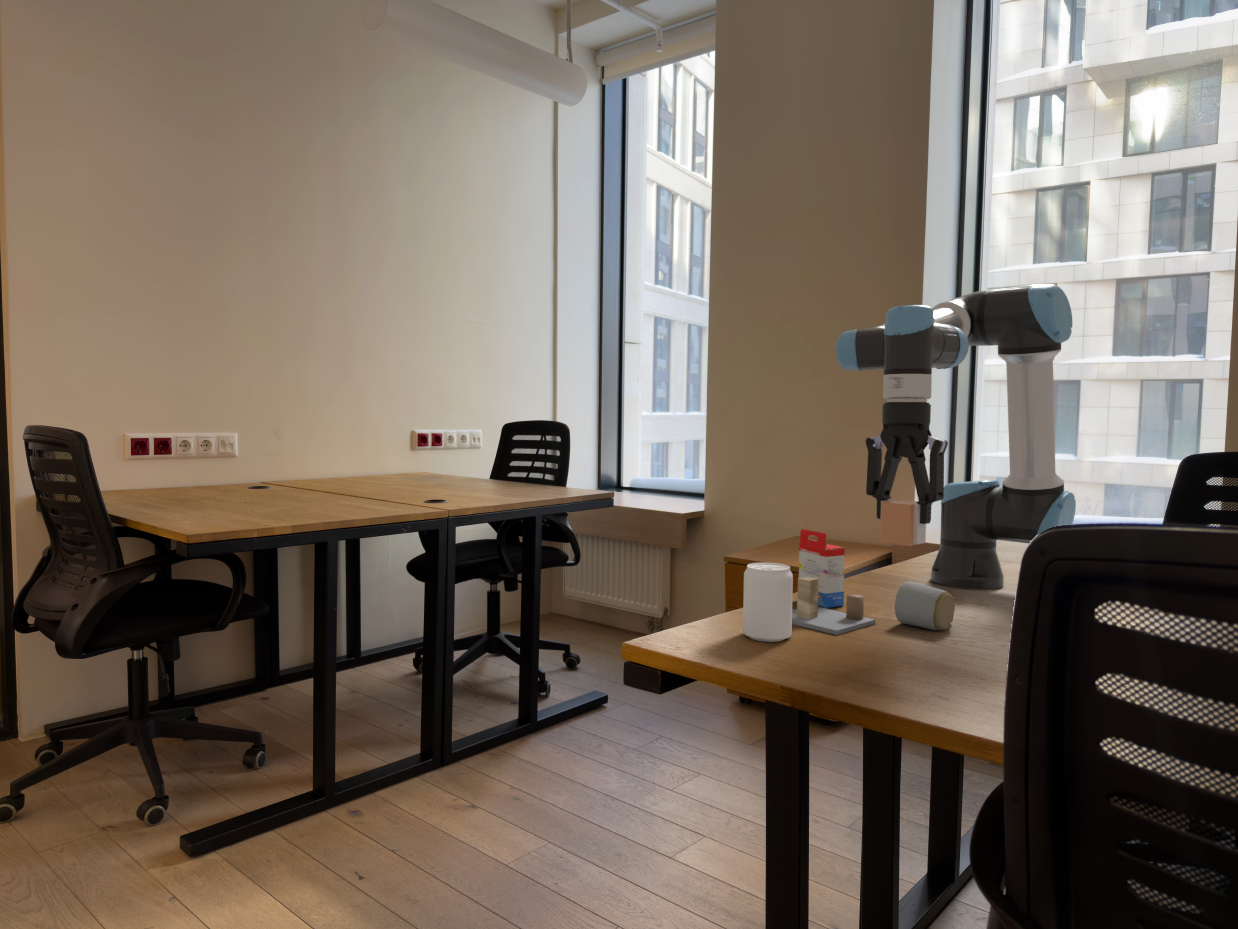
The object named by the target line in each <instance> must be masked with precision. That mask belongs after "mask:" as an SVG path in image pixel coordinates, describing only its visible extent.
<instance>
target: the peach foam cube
mask: <svg viewBox="0 0 1238 929" xmlns="http://www.w3.org/2000/svg"><path fill="white" fill-rule="evenodd" d="M891 500H892V501H884V502H881V519H880V522H881V531H879V536H880V537H879V541H880V542H879V543H882V544H890V545H897V546H906V547H912V546H918V545H919V544H913V526H914V504H917V501H915V500H914V501H913V500H903V499H894V500H893V499H891ZM922 544H924V543H921V544H920V545H922Z"/></svg>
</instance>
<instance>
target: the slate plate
mask: <svg viewBox="0 0 1238 929" xmlns="http://www.w3.org/2000/svg"><path fill="white" fill-rule="evenodd" d="M864 602H865V597H864V595H861V594H852V593H851V594H847V595H846V602H845V603H846V607H845V610H846V611H845V612H844V611H838V610H834V609H831V608H823V607H820V606H818V617H815V618H812V619H806V618H802V617H797V608H792V626H793V625H794V626H798V627H801V628H802V627H803V628H806V629H811V630H814V631H818V632H823V633H827V634H831V635H835V636H838V635H843V634H846V633H848V632H852V631H855V630H860V629H863V628H865V627H868V626H869V627H870V626H874V625H876V619H874V618H870V617H865V616H864V611H865V610H864V604H865V603H864Z"/></svg>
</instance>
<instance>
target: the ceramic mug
mask: <svg viewBox="0 0 1238 929" xmlns="http://www.w3.org/2000/svg"><path fill="white" fill-rule="evenodd" d="M955 605H956V604H955V600H954V598H953V596H952V594H951V593H950V592H949V591H947V590H943V589H941V588H937V587H934V586H929V585H925V584H922V583H917V582H916V581H915V582H914V581H910V580H908V581H904V582H903V583H902V584H901V585H900V587H899V588H898V590H897V593H896V596H895V600H894V614H895V618H896V619H897V621H898V622H899V623H901V624H904V625H908V626H913V627H919V628H922V629H927V630H931V631H943V630H946V629H947V628H948V627H949V626H950V625H951V624H952V622H953V620H954V617H955V616H954V614H955V610H956V609H955V608H956V606H955Z"/></svg>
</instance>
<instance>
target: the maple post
mask: <svg viewBox="0 0 1238 929" xmlns="http://www.w3.org/2000/svg"><path fill="white" fill-rule="evenodd" d="M796 600H797V601H796V605H797V606H796V609H797V617H802V618H806V619H812V618H815V617H818V607H819V606H818V579H816V578H811V577H802V578H799V577H798V578H797V599H796Z"/></svg>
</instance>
